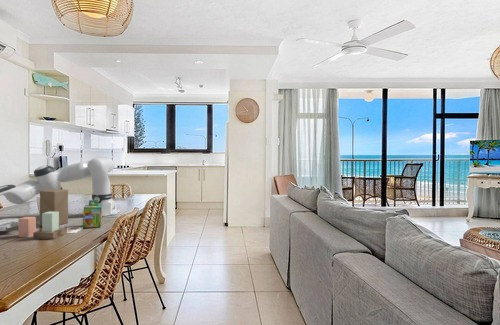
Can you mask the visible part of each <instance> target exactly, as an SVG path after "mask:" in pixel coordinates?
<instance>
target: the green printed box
mask: <svg viewBox="0 0 500 325" xmlns="http://www.w3.org/2000/svg"><path fill="white" fill-rule="evenodd" d="M92 202H95V203H96V204H94V205H93V204H91V203H92ZM82 215H83V216H82V217H83V218H82V227H83V229H86V228H90V229H91V228H101V227H102V223H103V222H102V220H103V219H102V218H103V216H102V205H98V200H92V199H90V200H89V201H88V204H87V205H86V204H85V206H84V207H83V214H82Z"/></svg>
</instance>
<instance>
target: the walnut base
mask: <svg viewBox="0 0 500 325" xmlns="http://www.w3.org/2000/svg"><path fill="white" fill-rule="evenodd" d="M67 234H68V233H67V227H59V229H58V230H55V231H53V232H43V231H42V229H40V230H36V232H34V233H33V239H34V240H56V239H57V238H60V237H64V235H67Z"/></svg>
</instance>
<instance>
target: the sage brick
mask: <svg viewBox="0 0 500 325" xmlns="http://www.w3.org/2000/svg"><path fill="white" fill-rule="evenodd" d="M59 228H60V225H59V212H51V211H49V212H45V213H42V226H41V230H42V231H43V232H53V231H55V230H58V229H59Z"/></svg>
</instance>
